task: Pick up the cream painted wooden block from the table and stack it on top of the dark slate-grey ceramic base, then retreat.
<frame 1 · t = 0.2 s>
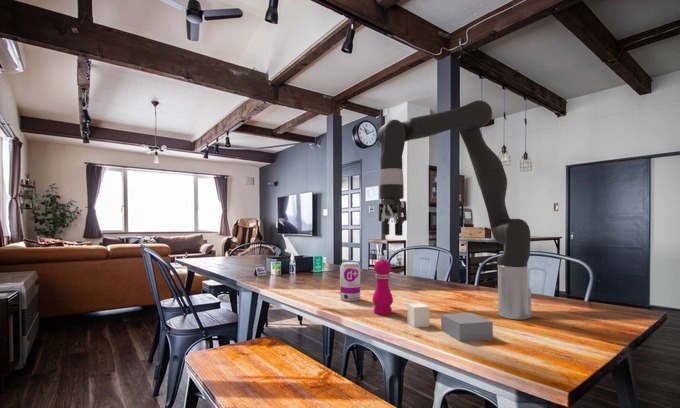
hand: (392, 235, 109), 28 cm above the table, tool pointing down, fingers open, 8 cm apart
slate base: (466, 335, 98), on the table
pepper mill: (382, 313, 122), on the table
cream block: (418, 324, 108), on the table
supplement can: (350, 299, 143), on the table
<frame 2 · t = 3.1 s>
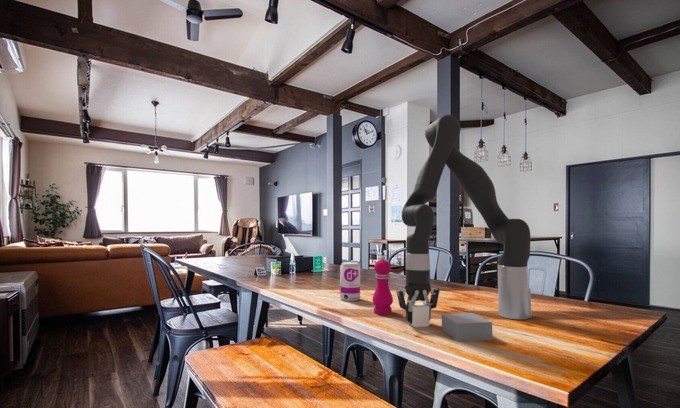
hand: (418, 322, 108), 1 cm above the table, tool pointing down, fingers closed on cream block, 5 cm apart
cream block: (418, 324, 108), on the table, touching gripper
everything else where it was.
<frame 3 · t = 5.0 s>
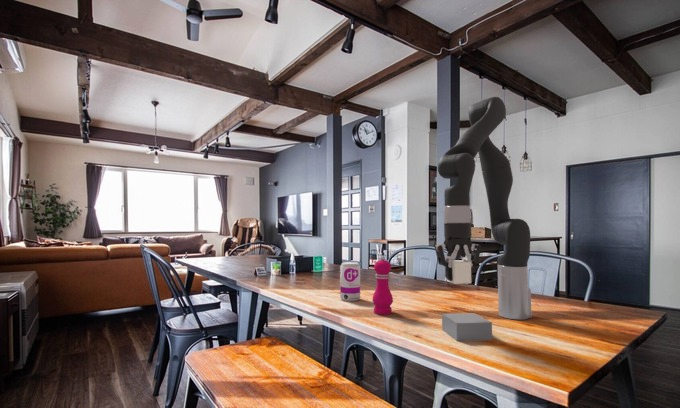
hand: (458, 279, 101), 15 cm above the table, tool pointing down, fingers closed on cream block, 5 cm apart
cream block: (458, 282, 101), point 14 cm above the table, touching gripper
everything else where it was.
when the fingers open (7 cm above the table, at t = 7.2 s): cream block drops 2 cm, resting on slate base.
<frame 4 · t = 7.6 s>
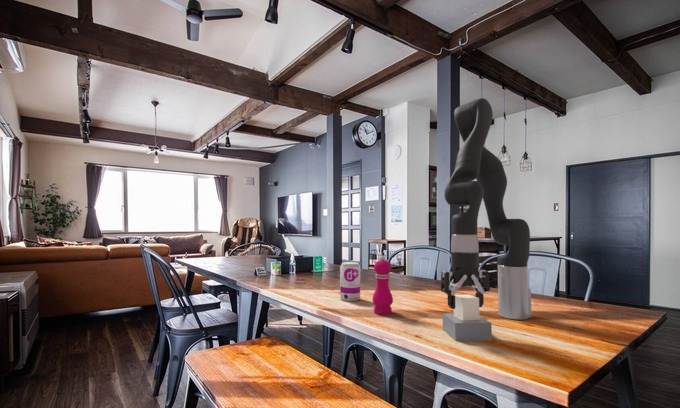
hand: (465, 307, 99), 8 cm above the table, tool pointing down, fingers open, 8 cm apart
slate base: (466, 335, 98), on the table, touching cream block
cream block: (466, 317, 99), point 5 cm above the table, touching slate base
everything else where it was.
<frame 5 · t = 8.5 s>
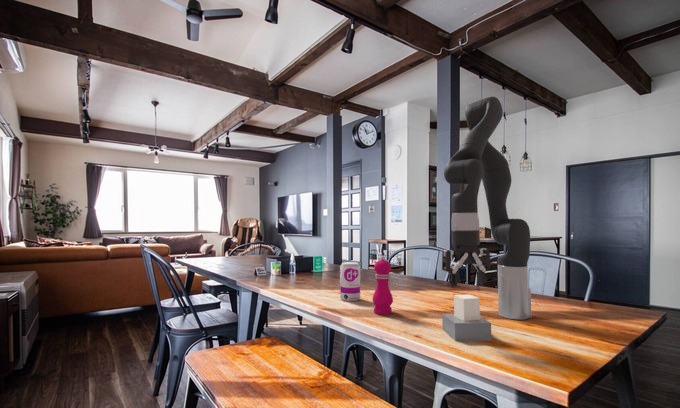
hand: (467, 285, 99), 14 cm above the table, tool pointing down, fingers open, 8 cm apart
nothing on the table moved.
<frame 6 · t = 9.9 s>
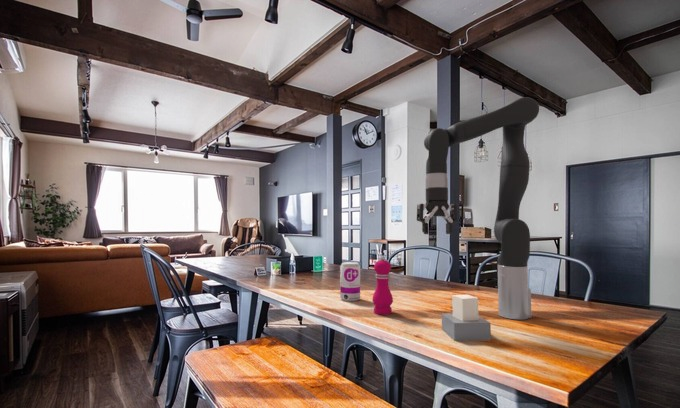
hand: (437, 234, 119), 28 cm above the table, tool pointing down, fingers open, 8 cm apart
nothing on the table moved.
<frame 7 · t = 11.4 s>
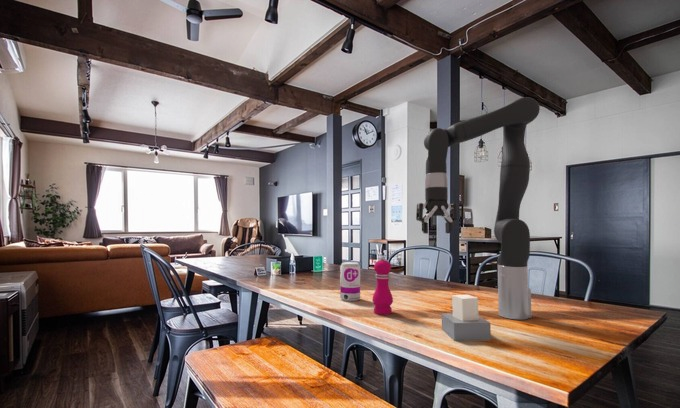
hand: (436, 233, 120), 28 cm above the table, tool pointing down, fingers open, 8 cm apart
nothing on the table moved.
at the end: cream block 0.2 cm from the slate base (horizontally); cream block point 4.7 cm above the table; cream block tilted 0° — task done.
